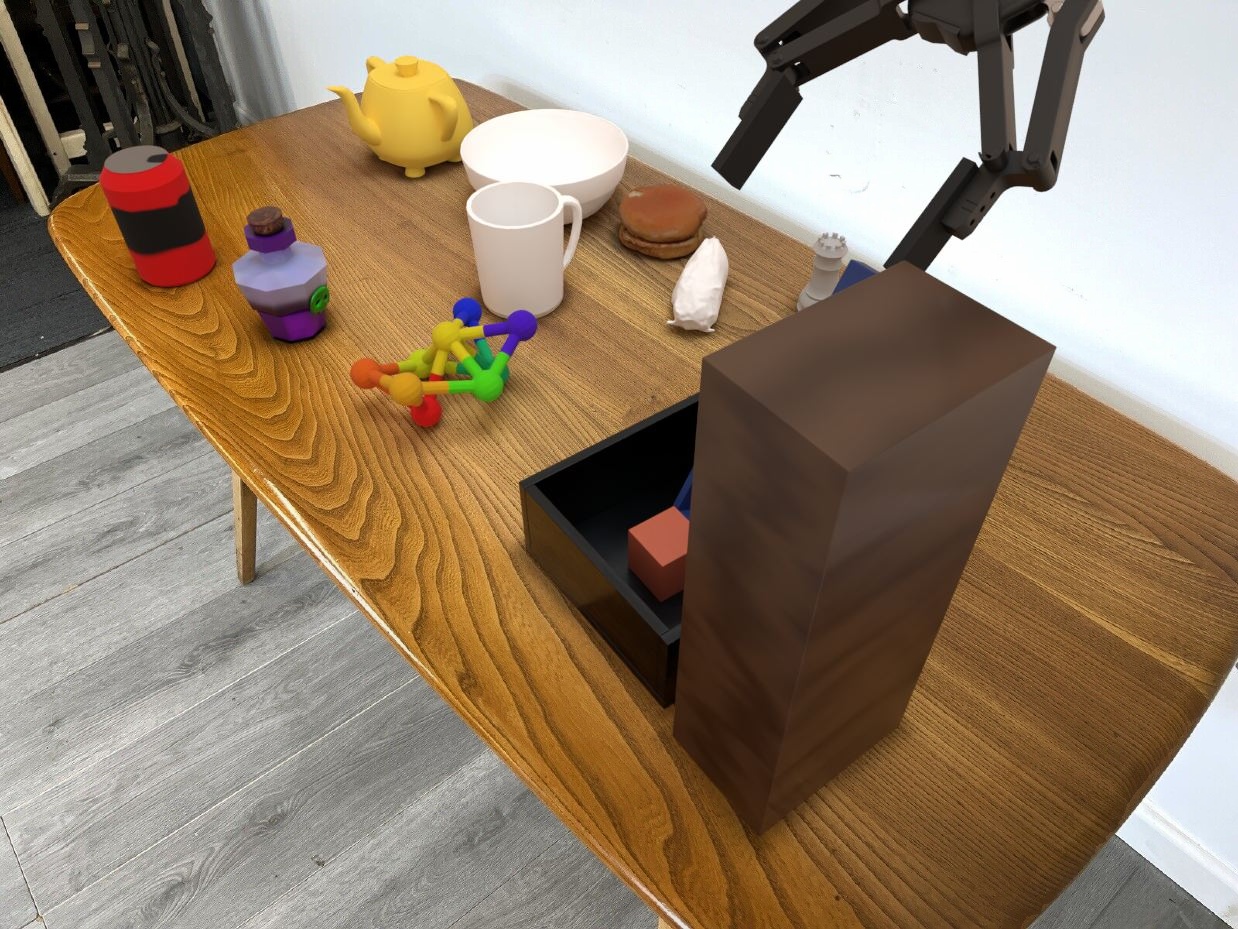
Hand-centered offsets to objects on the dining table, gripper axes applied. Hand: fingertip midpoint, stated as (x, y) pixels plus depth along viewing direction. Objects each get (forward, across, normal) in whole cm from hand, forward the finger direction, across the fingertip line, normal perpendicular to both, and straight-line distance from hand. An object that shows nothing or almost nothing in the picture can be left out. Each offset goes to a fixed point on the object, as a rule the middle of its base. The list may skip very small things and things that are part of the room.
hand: (804, 225), depth 52 cm
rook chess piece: (+1, +17, -35) cm, 39 cm away
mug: (+16, +36, -20) cm, 44 cm away
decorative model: (+26, +27, -10) cm, 39 cm away
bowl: (+8, +50, -28) cm, 58 cm away
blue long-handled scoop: (+9, 0, -12) cm, 15 cm away
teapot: (+14, +69, -23) cm, 74 cm away
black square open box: (+23, 0, -13) cm, 27 cm away
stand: (+25, -14, -11) cm, 31 cm away
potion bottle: (+31, +45, -6) cm, 55 cm away
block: (+24, 0, -8) cm, 25 cm away
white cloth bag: (+8, +24, -29) cm, 38 cm away
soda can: (+35, +62, -1) cm, 71 cm away
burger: (+4, +37, -32) cm, 49 cm away
